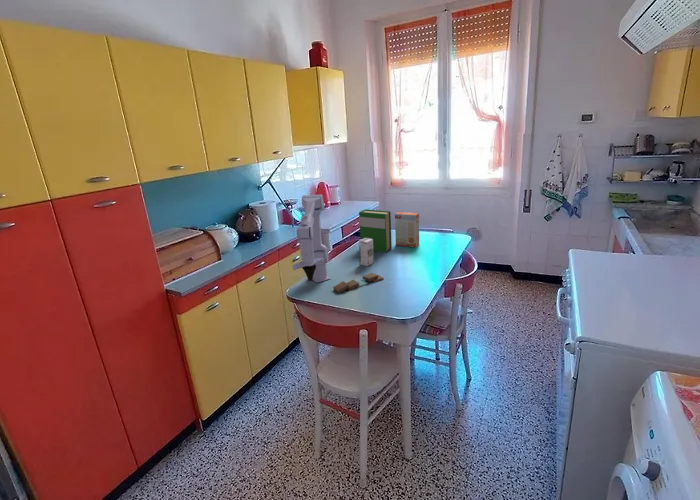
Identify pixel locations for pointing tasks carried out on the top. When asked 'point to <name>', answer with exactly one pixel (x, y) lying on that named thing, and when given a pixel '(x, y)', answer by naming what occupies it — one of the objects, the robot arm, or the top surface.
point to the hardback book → (376, 228)
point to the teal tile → (362, 283)
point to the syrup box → (366, 251)
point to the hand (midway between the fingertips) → (310, 280)
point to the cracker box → (407, 229)
